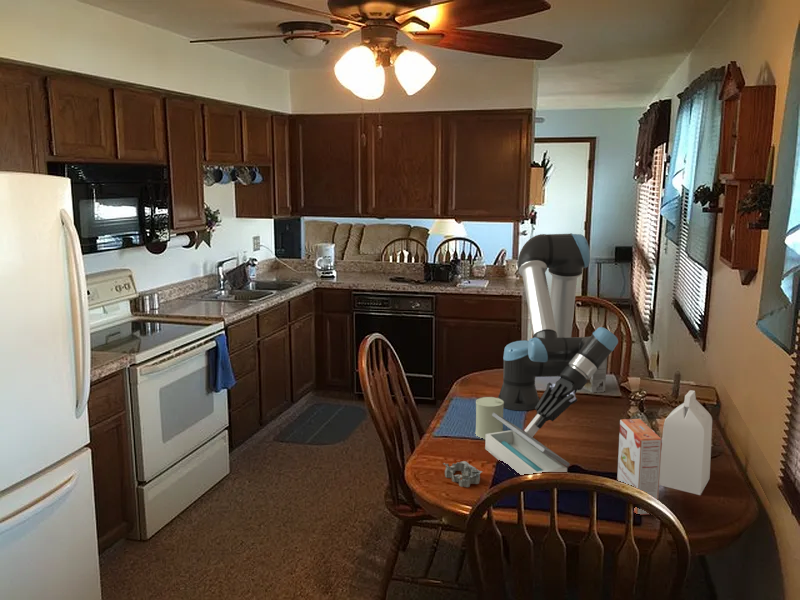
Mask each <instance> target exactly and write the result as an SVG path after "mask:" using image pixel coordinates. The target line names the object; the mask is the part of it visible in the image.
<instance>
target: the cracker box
mask: <svg viewBox="0 0 800 600" xmlns="http://www.w3.org/2000/svg"><path fill="white" fill-rule="evenodd" d="M654 431H655V430H654ZM654 431H653V429H652V428H650V427H649V426H648V424H646V423H645V422H644V421H643V420H642V419H641V418H633V419H632V418H627V419H626V418H624V419H620V420H619V432H618V433H619V435H618V457H617V477H616V481H617V480H618V481H621V482H624V483H626V484H629V485H632V486H634V487H636V488H638V489H640V490H643V491H645V492H647V493H648V494H650V495H652V496H653V497H655V498H656V499H657V500H658V501H659V497H660V496H659V494H660V485H659V480H660V464H661V449H662V437H660V436H659V435H658V434H657V432H654ZM633 512H634V514H635V513H636V514H640V515H639V516H646V515H650V514H649V513H647V512H646V511H644V510H642V509H639V508H637V507H635V508H634V511H633ZM636 514H635V515H636ZM650 516H651V515H650Z"/></svg>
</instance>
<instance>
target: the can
mask: <svg viewBox="0 0 800 600" xmlns="http://www.w3.org/2000/svg"><path fill="white" fill-rule="evenodd" d="M503 406H504V401H503V400H501V399H499V398H498V397H494V396H483V397H479V398H477V399H476V400H475V413H476V414H475V434H476V435H475V437H477V436H478V437H480V438H479V439H481V438H483V439H482V440H485V439H486V434H489V433H495V432H502V431H504V424H503V423H502V422H500V421H499V420H498V419H496V418H495V417H494V416H492V414H493V412H494V413H495V414H497V415H499V416H500V417H502V418H504V407H503ZM478 437H477V438H478Z"/></svg>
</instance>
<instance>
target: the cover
mask: <svg viewBox="0 0 800 600" xmlns="http://www.w3.org/2000/svg"><path fill="white" fill-rule="evenodd" d="M492 416H494V417H495V418H496V419H498V420H499V421H500V422H502V423H503V425H505V426H506V427H507V428H508V429H510V430H513V431H514V432H516V433H517V434H518V435H520V436H521V437H523V438H524V439H525V440H527V441H528V442H530V443H531V444H532V445H534V446H535V447H536V448H538V449H539V450H541V451H542V452H543V453H545V454H547V455H549V456H550V457H552V458H554V459H555V460H557V461H558V462H560V463H561V464H562V465H564V466H565V467H569V466H570V465H571V463H569V461H567V460H565V459H564V458H562V457H561V456H560V455H558V454H557V453H556V452H554V451H553V450H551V449H550V448H548V447H547V446H546V445H544V444H543V443H541V442H540V441H538V440H537V439H536V438H534V436H533V437H531V436H529V435H528V434H527V433H526V432H525V431H524V430H523V429H521V428H520V427H519V426H517V425H516V424H514V423H512V422H510V421H508V420H507V419H505V418H504V417H503V418H502V417H500V416H499V415H497V414H495V413H494V412H493V414H492Z"/></svg>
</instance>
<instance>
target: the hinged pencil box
mask: <svg viewBox="0 0 800 600" xmlns="http://www.w3.org/2000/svg"><path fill="white" fill-rule="evenodd" d="M484 440H485V443H484V444H485V446H484V449H485V450H486V451H488V453H490V455H492V456H493V457H494V458H495V459H496V460H498V461H499V460H500V461H503V462H504V463H506V464H508V465H509V466H510V467H511V468H512V469H514V470H515V471H516V472H517V473H519V474H520V475H524V474H533V473H542V472H567V473H568V467H567V466H566V465H564V464H562V463H561V462H559V461H557V460H556V459H554V458H552V457H550V456H549V455H547V454H545V453H543V452H542V451H541V450H539V449H538V448H536V447H535V446H534V445H532V444H531V443H530V442H528V441H527V440H525V439H524V438H523V437H521V436H520V435H518V434H517V433H516V432H514V431H513V430H512V429H510V430H503V431H502V432H495V433H489V434H486V439H484ZM500 461H499V462H500Z"/></svg>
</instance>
